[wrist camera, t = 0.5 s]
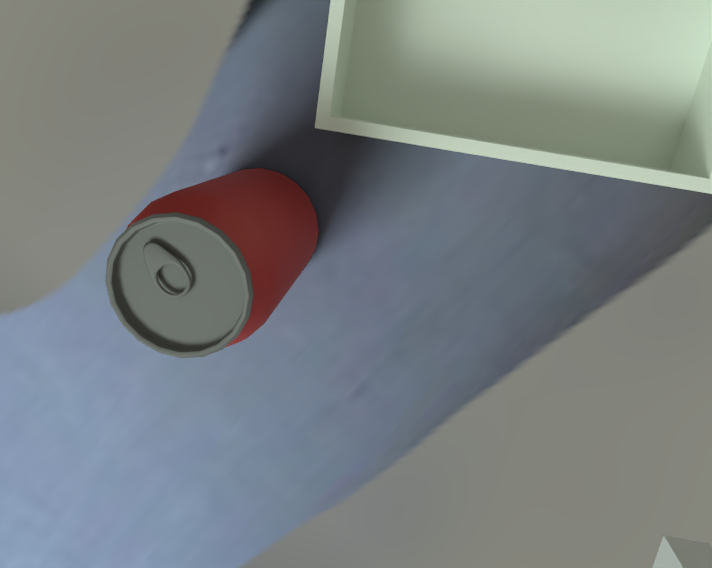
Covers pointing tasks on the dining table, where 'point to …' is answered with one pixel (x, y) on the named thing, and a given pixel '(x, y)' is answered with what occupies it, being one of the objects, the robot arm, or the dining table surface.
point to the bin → (530, 82)
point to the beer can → (211, 261)
